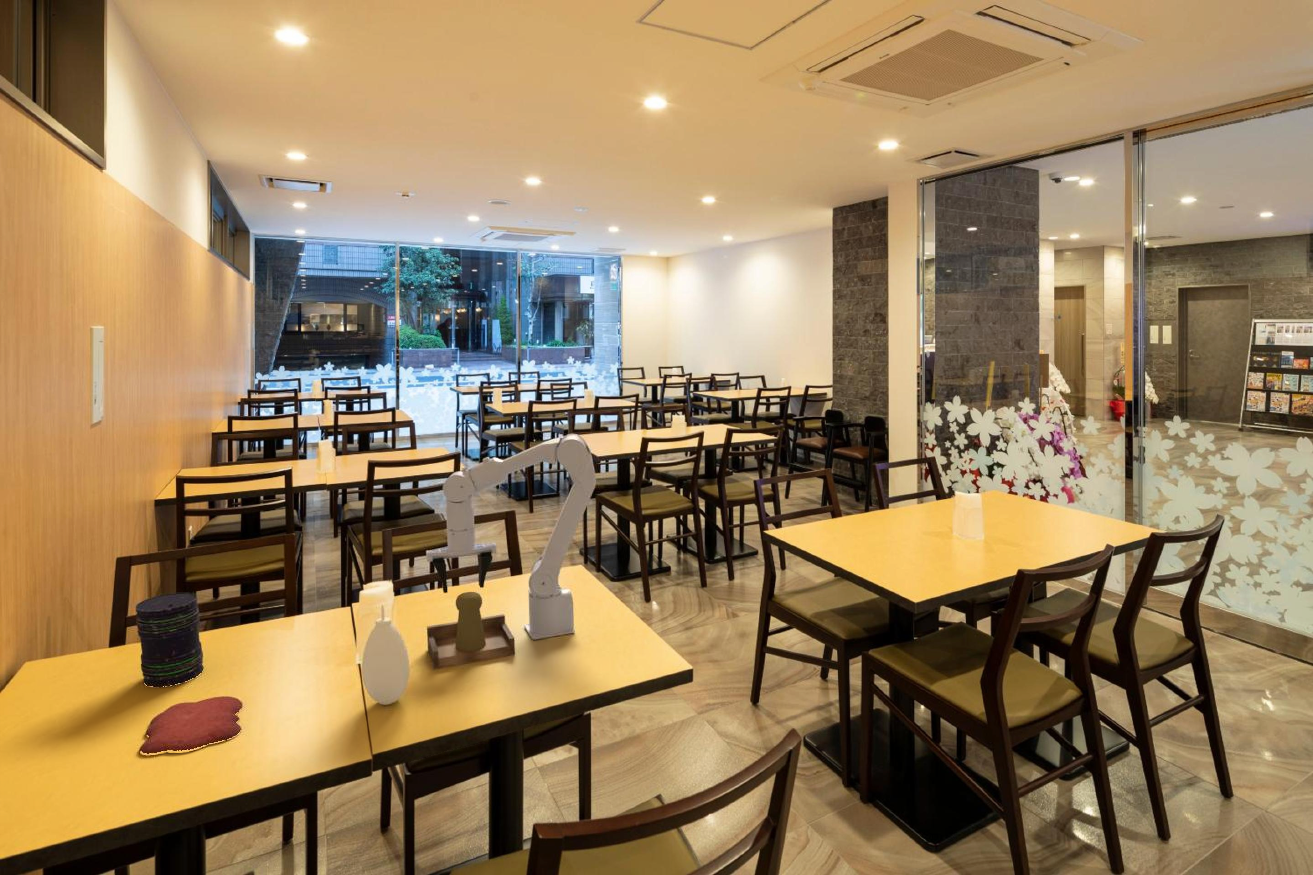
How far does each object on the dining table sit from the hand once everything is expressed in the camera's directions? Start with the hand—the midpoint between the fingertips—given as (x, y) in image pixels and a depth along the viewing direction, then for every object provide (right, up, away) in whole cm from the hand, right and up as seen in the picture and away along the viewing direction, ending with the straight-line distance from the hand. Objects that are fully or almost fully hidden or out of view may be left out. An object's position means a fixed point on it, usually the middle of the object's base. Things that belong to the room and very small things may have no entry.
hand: (463, 588), depth 154 cm
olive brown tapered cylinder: (+4, -10, -9) cm, 14 cm away
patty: (-35, -16, -35) cm, 52 cm away
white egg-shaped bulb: (-6, -14, -28) cm, 32 cm away
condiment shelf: (+4, -11, -7) cm, 14 cm away
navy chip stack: (-51, -13, -17) cm, 55 cm away
